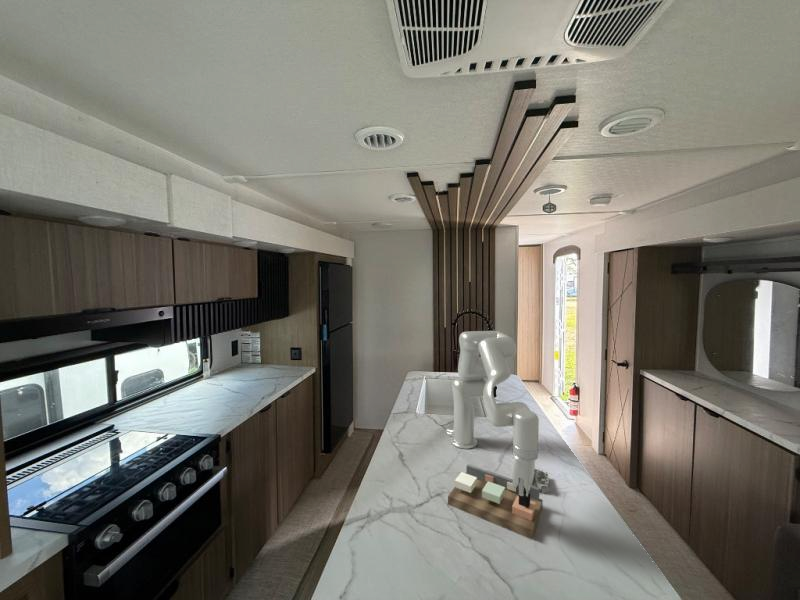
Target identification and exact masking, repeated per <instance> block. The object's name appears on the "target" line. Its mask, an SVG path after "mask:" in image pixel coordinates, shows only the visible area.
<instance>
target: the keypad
mask: <svg viewBox="0 0 800 600" xmlns="http://www.w3.org/2000/svg"><path fill="white" fill-rule="evenodd" d="M465 473H466V474H469V475H471V476H474V477H477V484H476V486H475V487H474V489H473V490H472V492H471V493H469V492H467V491H464V490H462V489H459V488H456V487H455V486H454V487H453V488H452V490H451V491H450V492H449V494H448V496H447V505H449V506H451V507H454V508H457V509H459V510H461V511H463V512H466V513H467V514H471V515H472V516H475V517H478V518H480V519H483V520H485V521H487V522H490V523H491V524H494V525H496V526H499V527H501V528H505V529H506V528H507V530H509V531H512V532H513V531H514V533H516V534H518V535H520V536H523V537H525V536H526V538H528V539H530V540H533V538H534V535H535V532H536V530H537V525H538V524H539V523H538V522H539V520H540V517H541V513H542V509H543V504H544V503H543V499H541V498H540V491H539V490H540V488H538V487H534V486H535V485H533V486H531V487H530V501H533V502H536V510H535V513H534V516H533V519H532V521H530V520H528V519H525V518H523V517H520V516H517V515H515V514H512V506H513V503H514V501H515V499H516V497H517V496H519V483H518V485H517V487H516V488H514V487H513V478H510V477H507V476H504V475H501V474H497V473H495V472H492V471H489V470H486V469H484V468H479V467H477V466H474V465H472V464H471V465H470V464H467V465H466V472H465ZM488 481H489V482H491V483H494V484H497V485H500V486H503V487H505V495H504V497H503V499H502V501H501V502H500V504H498V503H496V502H493V501H490V500H488V499H485V498H482V490H483V488H484V487H485V485H486V483H487V482H488Z"/></svg>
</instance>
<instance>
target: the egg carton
mask: <svg viewBox="0 0 800 600" xmlns="http://www.w3.org/2000/svg"><path fill="white" fill-rule="evenodd" d="M542 479H544V485H539V484H542ZM534 481H535V483H536V484H535V485H533V484H532V485H531V486H534V487H538V488H540V490H539V492H541V494H546V493H549V482H550V477H549V473H548V472H544V471H543V470H540V469H537V468H535V473H534Z"/></svg>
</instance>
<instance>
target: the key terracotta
mask: <svg viewBox="0 0 800 600" xmlns="http://www.w3.org/2000/svg"><path fill="white" fill-rule="evenodd" d="M535 510H536V502H533V501H530V506H529V508H527V507H524V506H522V505H519V496H517V497H516V499H515V501H514V503H513V506H512V514H515V515H517V516H520V517H523V518H525V519H528V520H530V521H532V519H533V516H534V513H535Z"/></svg>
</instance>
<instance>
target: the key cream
mask: <svg viewBox="0 0 800 600" xmlns="http://www.w3.org/2000/svg"><path fill="white" fill-rule="evenodd" d="M476 484H477V477H474V476H471V475H469V474H466V472H462V471H461V472H460V473H459V474H458V476H457V477H456V478H455V480H454V487H456V488H459V489H462V490H464V491H467V492H469V493H471V492H472V490H473V489H474V487H475V486H476Z"/></svg>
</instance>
